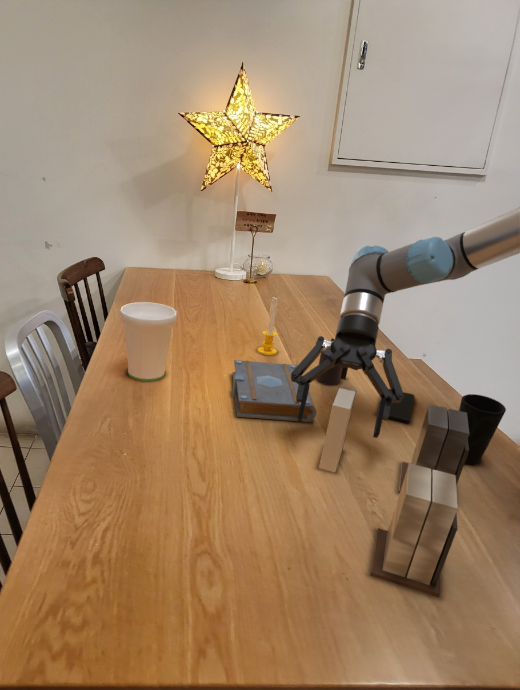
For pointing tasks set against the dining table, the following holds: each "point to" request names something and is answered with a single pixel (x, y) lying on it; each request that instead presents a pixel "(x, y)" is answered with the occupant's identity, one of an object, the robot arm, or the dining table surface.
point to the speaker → (331, 370)
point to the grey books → (441, 442)
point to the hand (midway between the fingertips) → (337, 427)
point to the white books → (418, 531)
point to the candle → (270, 331)
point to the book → (268, 392)
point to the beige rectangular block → (337, 429)
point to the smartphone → (402, 409)
